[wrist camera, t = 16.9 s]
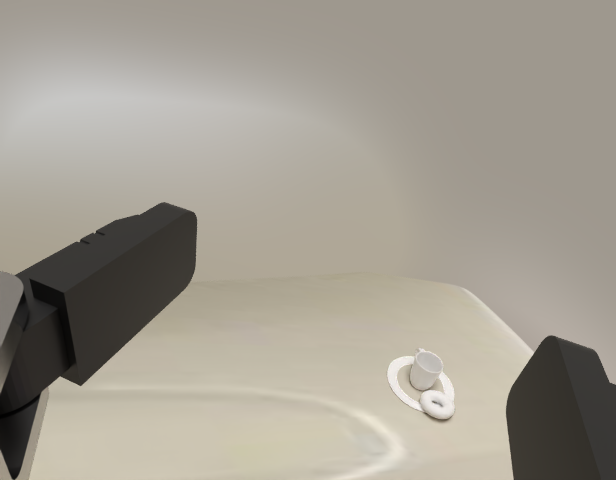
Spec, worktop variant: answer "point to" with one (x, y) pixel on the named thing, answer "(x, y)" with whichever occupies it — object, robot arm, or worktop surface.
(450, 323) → the worktop surface
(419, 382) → the teacup and saucer
